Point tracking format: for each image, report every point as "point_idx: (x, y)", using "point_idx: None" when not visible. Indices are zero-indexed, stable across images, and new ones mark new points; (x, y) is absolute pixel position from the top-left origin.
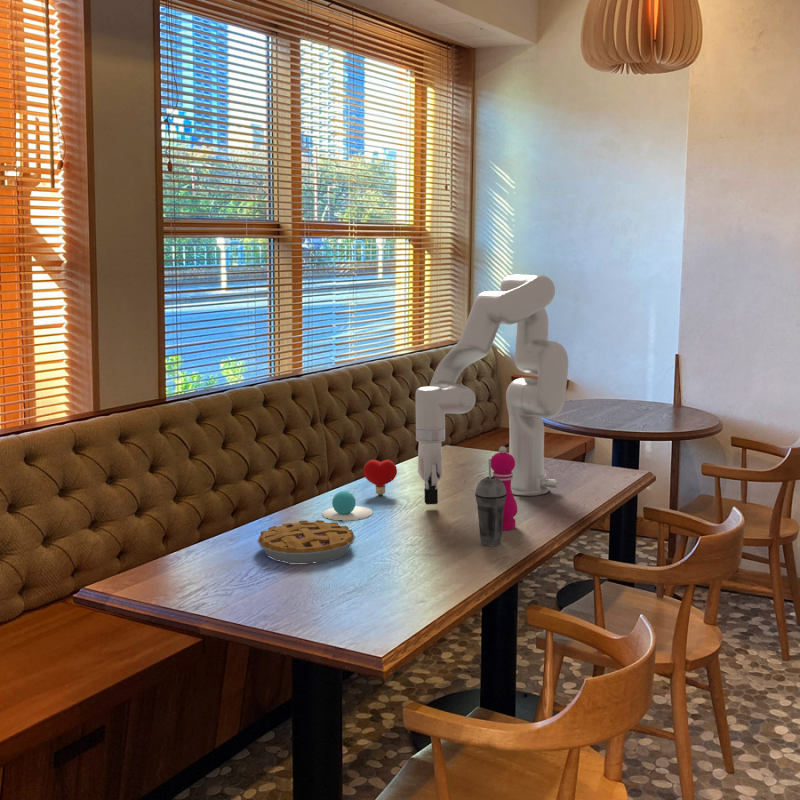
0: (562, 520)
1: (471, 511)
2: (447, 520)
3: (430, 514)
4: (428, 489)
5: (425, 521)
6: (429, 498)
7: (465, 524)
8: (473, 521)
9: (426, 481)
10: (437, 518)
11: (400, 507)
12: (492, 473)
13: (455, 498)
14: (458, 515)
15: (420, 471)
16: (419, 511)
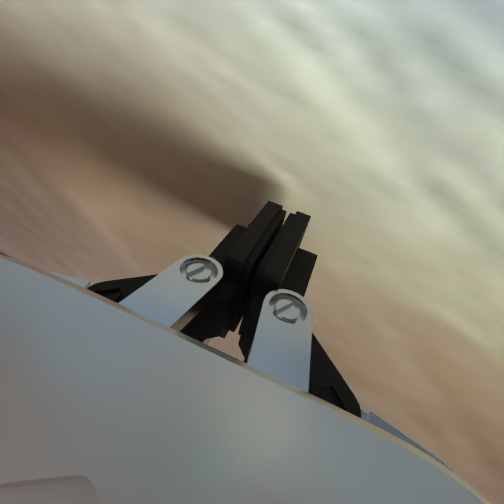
0: None
1: None
2: (84, 184)
3: (191, 163)
4: (187, 266)
5: (71, 66)
6: (229, 233)
7: (36, 215)
8: (70, 258)
9: (168, 317)
10: (117, 159)
11: (485, 19)
12: None
13: (402, 409)
14: (146, 262)
15: (68, 416)
16: (274, 132)
